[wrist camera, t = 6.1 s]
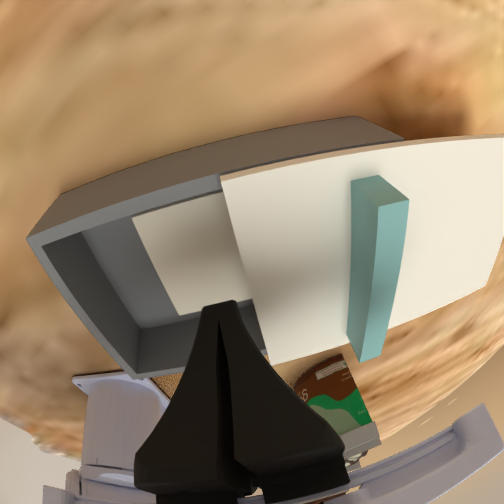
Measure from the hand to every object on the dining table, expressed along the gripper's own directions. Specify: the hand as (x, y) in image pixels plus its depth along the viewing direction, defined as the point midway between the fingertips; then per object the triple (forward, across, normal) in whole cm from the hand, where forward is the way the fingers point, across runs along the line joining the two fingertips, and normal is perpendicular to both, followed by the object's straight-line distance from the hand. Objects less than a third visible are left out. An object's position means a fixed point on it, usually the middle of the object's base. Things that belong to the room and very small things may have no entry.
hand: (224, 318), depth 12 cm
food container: (+6, -5, +20) cm, 21 cm away
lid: (+1, -9, 0) cm, 9 cm away
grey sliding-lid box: (+6, -1, 0) cm, 6 cm away
